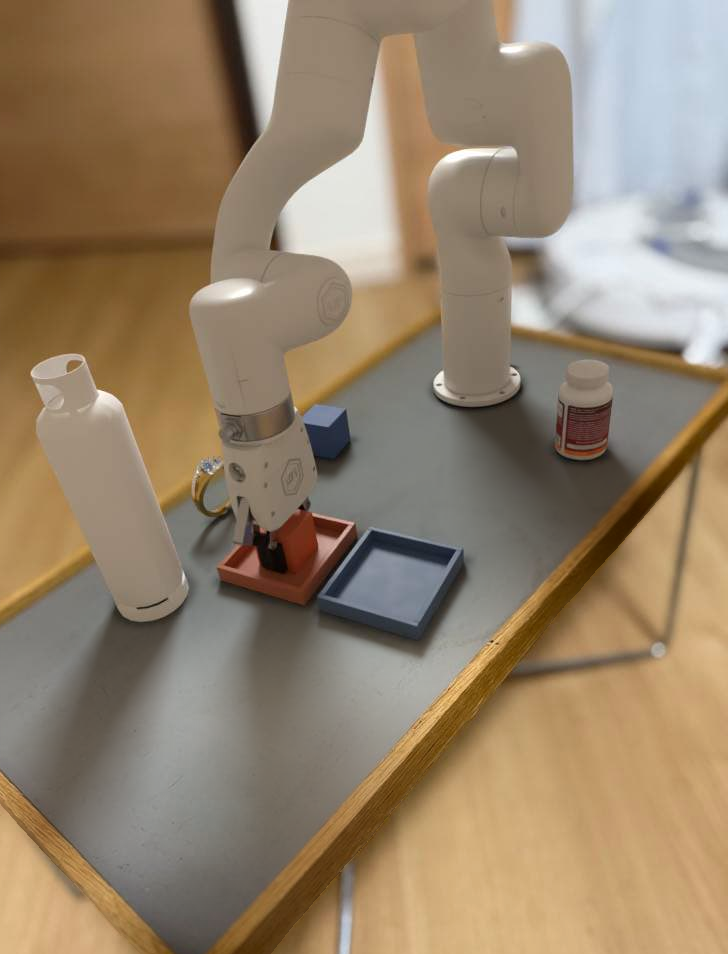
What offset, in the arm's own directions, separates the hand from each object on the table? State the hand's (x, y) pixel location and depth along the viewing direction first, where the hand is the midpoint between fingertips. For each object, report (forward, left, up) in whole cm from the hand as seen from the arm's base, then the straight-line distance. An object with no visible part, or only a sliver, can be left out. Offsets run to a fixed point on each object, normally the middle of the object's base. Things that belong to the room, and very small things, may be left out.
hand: (288, 552), depth 80 cm
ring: (-5, -13, -1) cm, 14 cm away
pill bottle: (-31, +25, -1) cm, 40 cm away
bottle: (+11, -11, -1) cm, 16 cm away
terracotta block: (0, 0, 0) cm, 0 cm away
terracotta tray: (0, 0, -1) cm, 1 cm away
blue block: (-22, -7, -1) cm, 23 cm away
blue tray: (0, +13, -1) cm, 13 cm away
